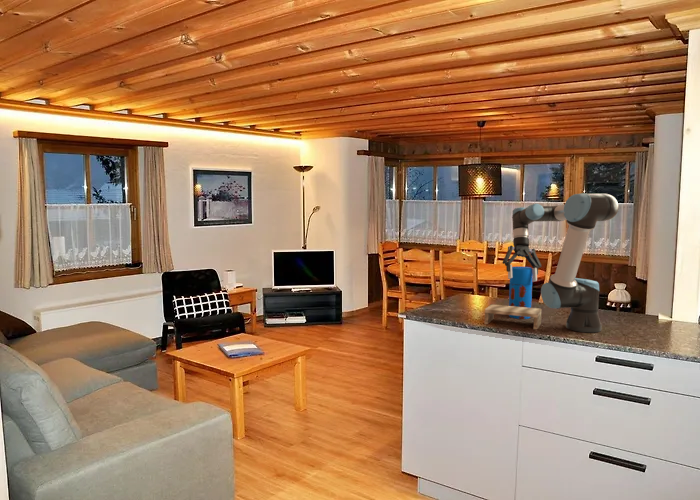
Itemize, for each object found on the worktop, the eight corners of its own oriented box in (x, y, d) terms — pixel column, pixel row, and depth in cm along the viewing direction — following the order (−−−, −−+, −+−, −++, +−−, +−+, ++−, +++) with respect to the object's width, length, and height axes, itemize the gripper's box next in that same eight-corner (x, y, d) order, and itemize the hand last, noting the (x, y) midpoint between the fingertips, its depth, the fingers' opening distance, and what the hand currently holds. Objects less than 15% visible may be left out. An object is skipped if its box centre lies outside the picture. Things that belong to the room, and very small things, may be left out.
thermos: (532, 319, 275) (534, 269, 272) (510, 318, 276) (511, 269, 274) (528, 314, 285) (530, 266, 283) (507, 314, 287) (509, 266, 285)
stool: (540, 323, 267) (541, 308, 266) (536, 329, 255) (537, 314, 254) (490, 318, 278) (491, 304, 277) (484, 323, 265) (484, 309, 264)
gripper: (538, 243, 284) (540, 283, 278) (494, 237, 278) (495, 278, 272) (547, 239, 277) (549, 280, 271) (502, 233, 271) (503, 275, 265)
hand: (522, 279), depth 271 cm, fingers open, 13 cm apart
